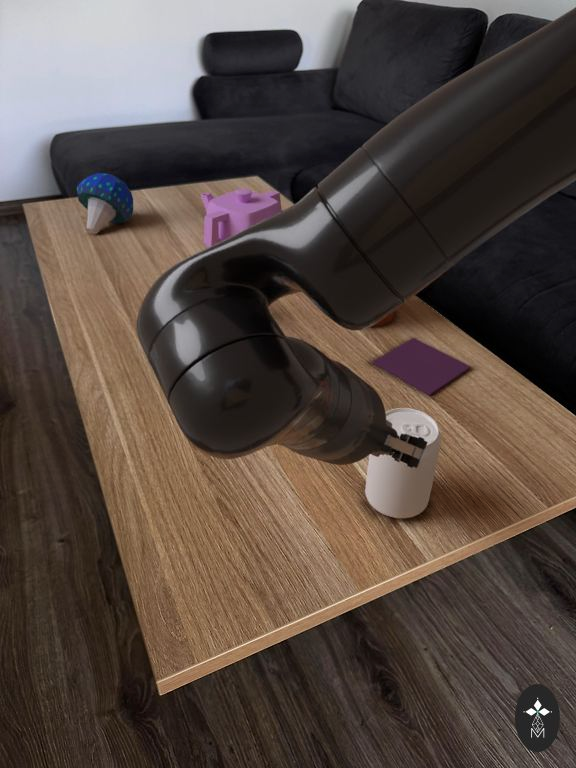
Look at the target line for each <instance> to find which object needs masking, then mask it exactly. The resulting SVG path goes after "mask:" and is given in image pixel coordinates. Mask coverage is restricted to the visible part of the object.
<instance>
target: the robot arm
mask: <svg viewBox="0 0 576 768" xmlns="http://www.w3.org/2000/svg"><path fill="white" fill-rule="evenodd" d="M575 181H576V6H575V7H574V8H572V9H571V10H569V11H567V12H566V13H564V14H563V15H560V16H559V17H557V18H556V19H554V20H553V21H551V22H549V23H547V24H546V25H544V26H542V27H541V28H540V29H538V30H536V31H534V32H532V33H531V34H529V35H527V36H525V37H524V38H522V39H521V40H519V41H517V42H516V43H513V44H512V45H510V46H508V47H507V48H505V49H503V50H501V51H499V52H497V53H496V54H494V55H493V56H491V57H489V58H487V59H485V60H483V61H482V62H480V63H478V64H476V65H475V66H473V67H471V68H470V69H468V70H466V71H465V72H463V73H461V74H460V75H458V76H456V77H455V78H453V79H452V80H449V81H448V82H446V83H445V84H443V85H441V86H440V87H438V88H437V89H435V90H434V91H432V92H431V93H429V94H427V95H426V96H424V97H423V98H422V99H420V100H419V101H417V102H416V103H414V104H413V105H411V106H410V107H408V108H406V110H404V111H403V112H402V113H400V114H399V115H397V116H396V117H395V118H393V119H392V120H391V121H389V123H387V124H386V125H385V126H383V127H382V128H381V129H380V130H379V131H377V132H376V133H374V135H372V136H371V137H370V138H369V139H368V140H367V141H365V142H364V143H363V144H362V145H361V146H360V147H358V149H356V150H355V151H354V152H353V153H352V154H351V155H349V156H348V157H347V158H346V159H344V161H342V163H340V164H339V165H338V166H337V167H335V168H334V169H333V170H332V171H331V172H330V173H329V174H328V175H326V176H325V177H324V178H323V179H321V181H319V182H318V183H317V187H316V186H313V188H312V189H310V191H308V193H306V194H305V195H304V196H303V197H302V198H300V200H298V201H297V202H295V203H294V204H293V205H291V206H289V207H287V208H285V209H284V210H282V211H281V212H280V213H277V214H275V215H273V216H271V217H269V218H267V219H265V220H263V221H261V222H259V223H257V224H255V225H253V226H251V227H249V228H247V229H245V230H243V231H241V232H239V233H237V234H236V235H234V236H231V237H229V238H227V239H225V240H223V241H221V242H219V243H217V244H215V245H213V246H211V247H209V248H207V247H206V248H204V249H202V250H201V251H198V252H196V253H194V254H192V255H190V256H188V257H186V258H184V259H182V260H180V261H178V262H177V263H175V264H174V265H172V266H171V267H170V268H168V269H167V270H165V271H164V272H163V273H162V274H160V275H159V276H158V278H157V279H156V280H155V281H154V282H153V284H152V285H151V286H150V288H149V289H148V290H147V292H146V294H145V296H144V298H143V299H142V302H141V304H140V307H139V309H138V312H137V317H136V332H137V337H138V340H139V343H140V345H141V347H142V350H143V352H144V354H145V357H146V359H147V361H148V363H149V365H150V367H151V369H152V371H153V373H154V375H155V377H156V380H157V382H158V383H159V387H160V388H161V390H162V392H163V395H164V397H165V400H166V402H167V404H168V406H169V408H170V410H171V413H172V415H173V417H174V419H175V421H176V423H177V426H178V428H179V429H180V431H181V432H182V434H183V435H184V437H185V438H186V439H187V440H188V442H190V443H191V445H193V446H194V447H195V448H196V449H198V450H199V451H201V452H202V453H204V454H206V455H207V456H209V457H212V458H214V459H218V460H235V459H239V458H242V457H246V456H250V455H252V454H255V453H256V452H258V451H261V450H263V449H265V448H267V447H272V446H276V445H277V446H281V447H284V448H287V449H288V450H289V451H291V452H293V453H295V454H297V455H299V456H303V457H306V458H308V459H309V458H310V459H313V460H315V461H320V462H324V463H328V464H332V465H336V466H347V465H352V464H355V463H357V462H361V461H362V460H364V459H366V458H367V457H369V455H370V454H371V455H374V456H376V457H379V456H380V454H381V455H384V454H385V455H387V456H388V455H390V456H392V458H394V460H395V461H397V462H399V461H401V462H404V463H406V464H407V466H409V467H411V468H413V467H415V468H417V467H418V464H419V462H420V460H421V457H422V455H423V452H424V450H425V448H426V445H427V443H428V442H427V441H424V438H421V437H419V438H417V437H414V436H411V435H409V434H401V435H400V438H399V436H398V434H397V431H396V430H395V429H393V428H392V423H391V422H389V421H387V420H386V413H385V412H386V409H385V404H384V402H383V400H382V398H381V396H380V395H379V393H378V392H377V391H376V389H375V388H374V387H373V386H372V385H370V384H369V383H367V381H365V380H364V379H363V378H362V377H360V376H359V375H358V374H356V373H355V372H354V371H353V370H351V369H350V368H349V367H348V366H346V364H345V365H344V364H343V363H341V362H340V361H337V360H335V359H332V358H330V357H329V356H328V355H326V354H325V353H324V352H323V351H321V350H320V349H318V348H317V347H316V346H314V345H312V344H310V343H309V342H307V341H306V340H302V339H299V338H296V337H293V336H287V335H286V334H285V333H284V331H283V330H282V328H281V326H280V325H279V323H278V321H277V319H276V318H275V316H274V314H273V312H272V311H271V309H270V306H272V305H273V304H274V303H275V302H276V301H278V300H279V299H281V298H284V297H287V296H290V295H294V294H299V293H303V294H304V296H306V297H307V298H308V299H309V301H311V302H312V304H314V305H315V306H316V307H317V308H318V309H319V310H320V312H321V313H323V314H324V315H325V316H327V317H328V318H329V319H330V320H331V321H333V322H334V323H335V324H337V325H338V326H340V327H342V328H344V329H347V330H349V331H363V330H366V329H369V328H372V327H371V326H373V325H374V324H376V323H378V322H379V321H381V320H382V319H384V318H385V317H387V316H388V315H389V314H391V313H392V312H394V311H395V310H396V311H397V310H398V309H400V307H402V306H403V305H404V304H405V302H408V301H409V300H411V299H412V298H413V297H414V296H416V295H418V293H420V292H421V291H423V290H424V289H425V288H427V287H428V286H429V285H430V284H432V283H433V282H435V281H436V280H437V279H438V278H440V277H441V276H442V275H444V274H445V273H446V272H448V271H450V269H452V267H454V266H456V265H457V264H459V263H460V262H462V261H463V260H464V259H465V258H466V257H468V256H469V255H470V254H472V253H473V252H474V251H476V250H477V249H479V248H480V247H481V246H483V244H485V243H487V242H488V241H489V240H491V239H492V238H493V237H495V236H496V235H497V234H499V233H500V232H502V231H503V230H504V229H505V228H507V227H509V226H510V225H511V224H512V223H514V222H515V221H517V220H518V219H519V218H521V217H522V216H524V215H525V214H526V213H529V212H530V211H531V210H532V209H534V208H536V207H537V206H538V205H540V204H541V203H543V202H544V201H546V200H547V199H548V198H550V197H551V196H553V195H555V194H557V193H558V192H560V191H561V190H563V189H564V188H566V187H567V186H569V185H571V184H572V183H574V182H575ZM396 311H395V312H396ZM423 449H424V450H423Z"/></svg>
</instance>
